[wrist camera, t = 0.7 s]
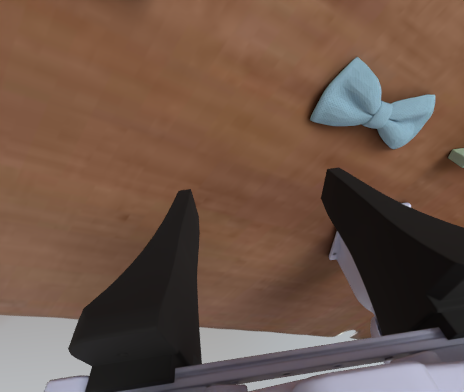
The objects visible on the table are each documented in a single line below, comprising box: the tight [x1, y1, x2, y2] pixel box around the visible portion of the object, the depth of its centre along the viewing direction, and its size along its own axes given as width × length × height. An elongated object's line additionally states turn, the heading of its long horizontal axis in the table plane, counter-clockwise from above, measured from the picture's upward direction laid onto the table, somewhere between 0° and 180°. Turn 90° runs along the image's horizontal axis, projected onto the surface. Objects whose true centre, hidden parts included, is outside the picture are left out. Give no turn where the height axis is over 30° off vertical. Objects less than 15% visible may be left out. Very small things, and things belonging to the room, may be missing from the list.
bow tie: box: [310, 57, 435, 149], centre depth 18 cm, size 10×2×5 cm
